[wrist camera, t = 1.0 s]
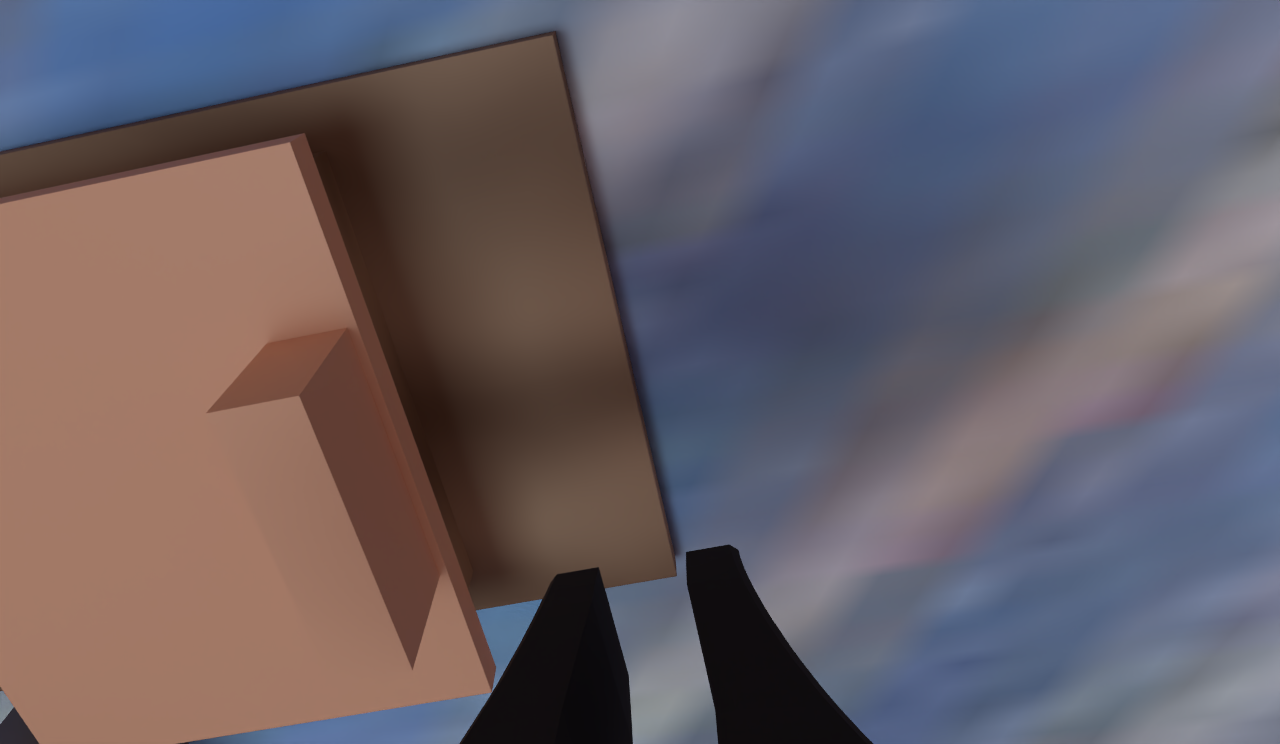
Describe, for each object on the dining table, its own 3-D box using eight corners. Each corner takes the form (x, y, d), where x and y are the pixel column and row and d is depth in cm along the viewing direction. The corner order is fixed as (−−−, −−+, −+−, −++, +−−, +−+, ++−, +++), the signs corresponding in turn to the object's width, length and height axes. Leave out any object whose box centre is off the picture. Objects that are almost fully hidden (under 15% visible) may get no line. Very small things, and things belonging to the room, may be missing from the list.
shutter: (496, 667, 22) (473, 794, 19) (71, 737, 23) (-21, 871, 20) (304, 132, 16) (225, 183, 13) (-249, 251, 17) (-453, 325, 14)
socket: (675, 557, 25) (681, 641, 22) (5, 672, 27) (-73, 765, 24) (555, 31, 19) (542, 49, 16) (-303, 217, 21) (-458, 265, 18)
